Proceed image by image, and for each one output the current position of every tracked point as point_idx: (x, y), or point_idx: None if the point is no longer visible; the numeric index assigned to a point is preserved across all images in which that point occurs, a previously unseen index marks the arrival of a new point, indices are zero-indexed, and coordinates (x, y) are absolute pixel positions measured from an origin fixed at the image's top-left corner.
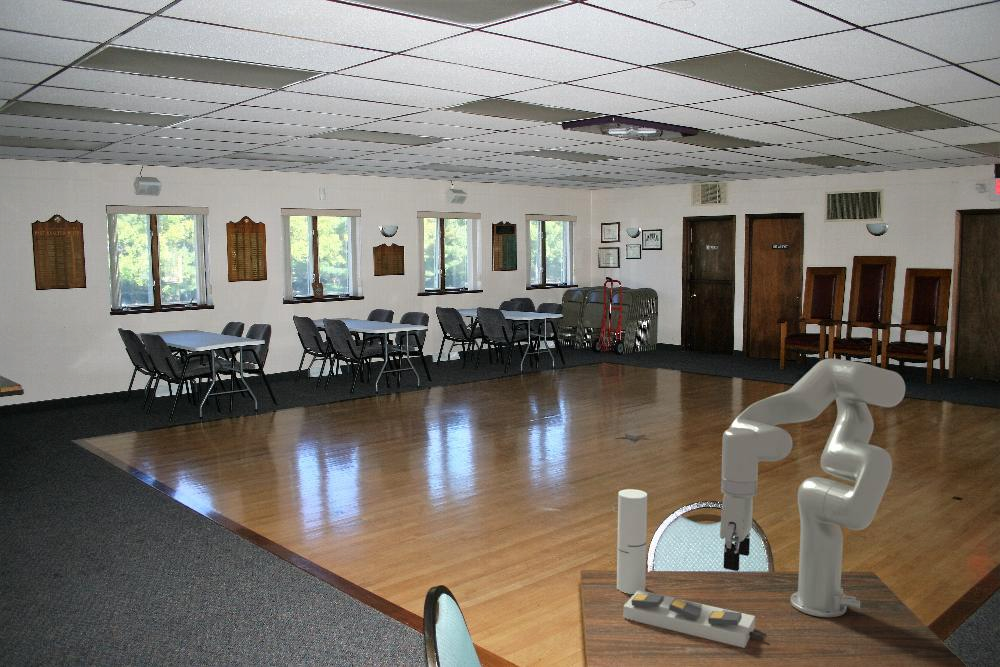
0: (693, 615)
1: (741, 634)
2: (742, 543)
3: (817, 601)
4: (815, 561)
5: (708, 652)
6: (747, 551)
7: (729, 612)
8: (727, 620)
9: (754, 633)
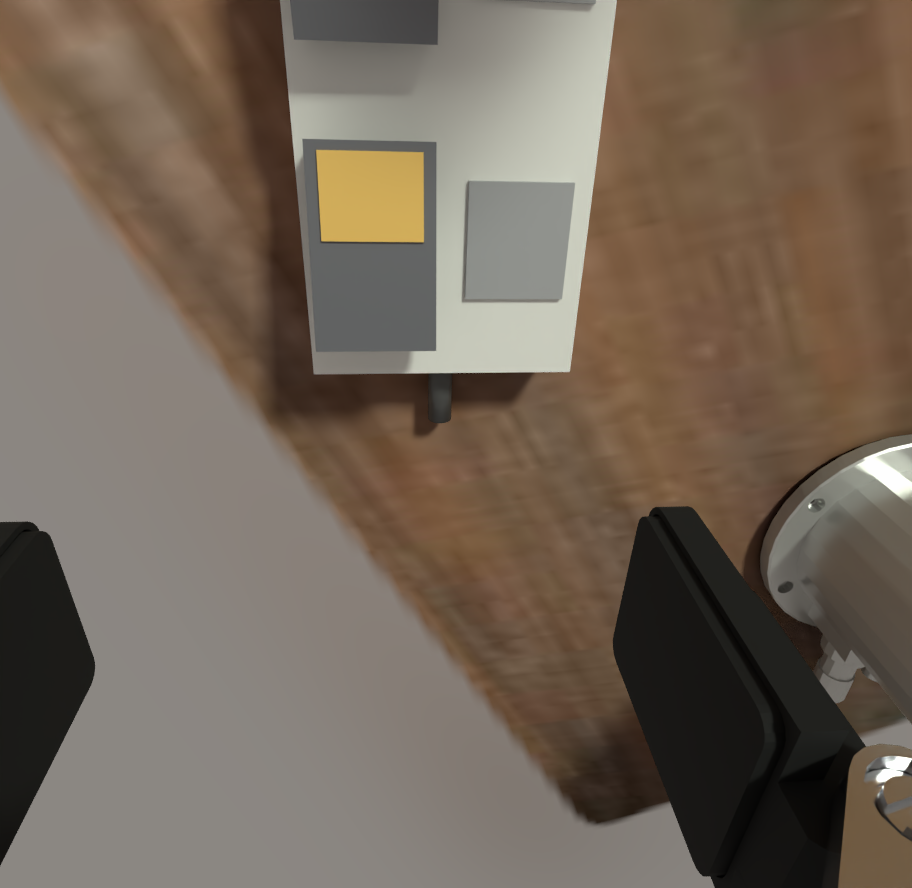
0: (292, 5)
1: (313, 354)
2: (690, 735)
3: (821, 578)
4: None
5: (150, 182)
6: (631, 690)
7: (429, 273)
8: (312, 287)
9: (435, 381)
